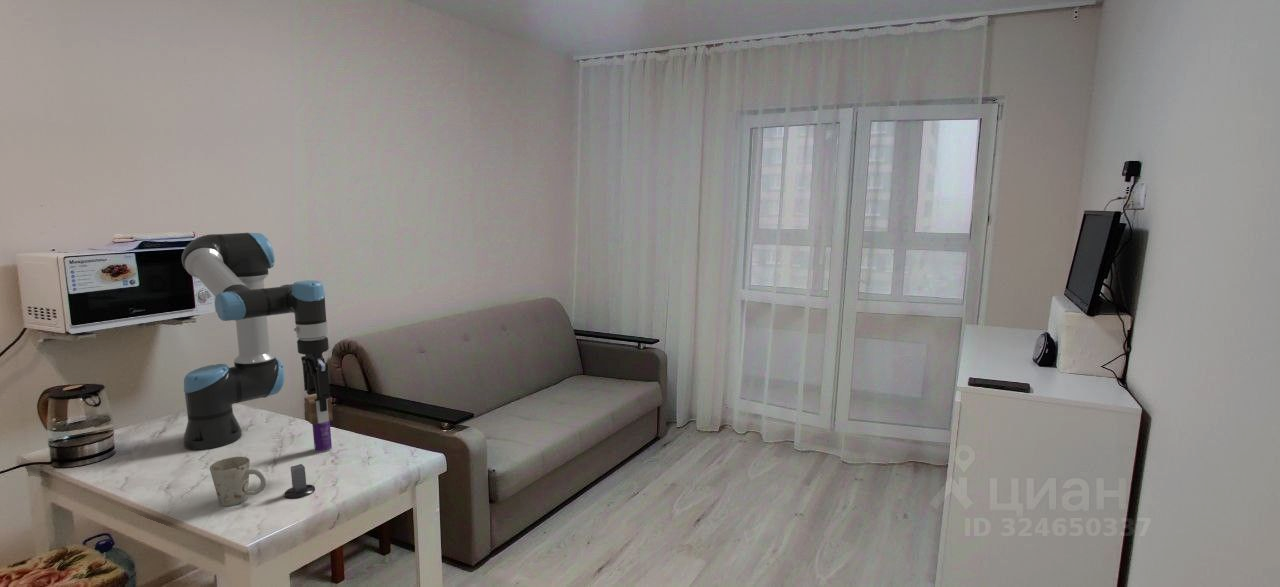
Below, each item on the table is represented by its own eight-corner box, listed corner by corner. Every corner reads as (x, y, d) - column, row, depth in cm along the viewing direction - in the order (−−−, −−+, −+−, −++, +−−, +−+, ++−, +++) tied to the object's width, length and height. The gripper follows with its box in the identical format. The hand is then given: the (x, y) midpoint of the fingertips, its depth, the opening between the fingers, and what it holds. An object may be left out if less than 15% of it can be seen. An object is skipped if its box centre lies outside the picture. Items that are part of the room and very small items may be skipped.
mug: (226, 493, 160) (222, 457, 159) (276, 491, 161) (273, 455, 160) (206, 509, 152) (202, 471, 150) (260, 507, 153) (256, 469, 151)
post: (280, 492, 161) (278, 466, 160) (309, 483, 166) (307, 458, 165) (289, 501, 156) (286, 475, 155) (318, 492, 161) (316, 466, 160)
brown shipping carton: (306, 420, 172) (304, 397, 171) (326, 415, 175) (324, 393, 174) (312, 424, 168) (310, 401, 167) (332, 420, 172) (331, 397, 171)
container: (324, 453, 185) (320, 405, 183) (311, 451, 186) (306, 404, 184) (335, 447, 190) (331, 400, 188) (322, 445, 191) (318, 399, 188)
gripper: (286, 334, 172) (293, 414, 175) (309, 345, 159) (316, 431, 163) (315, 330, 177) (321, 408, 181) (339, 340, 164) (346, 423, 168)
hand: (319, 419), depth 172 cm, fingers closed on brown shipping carton, 5 cm apart
